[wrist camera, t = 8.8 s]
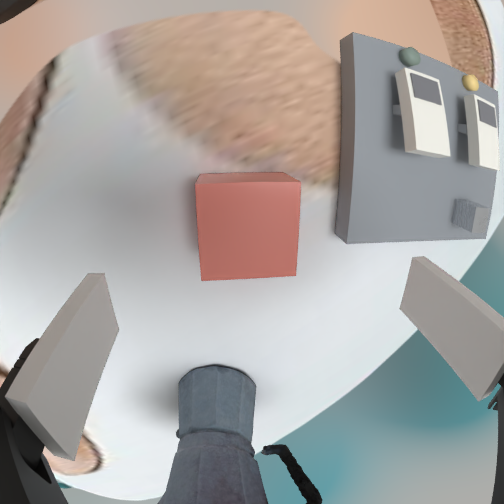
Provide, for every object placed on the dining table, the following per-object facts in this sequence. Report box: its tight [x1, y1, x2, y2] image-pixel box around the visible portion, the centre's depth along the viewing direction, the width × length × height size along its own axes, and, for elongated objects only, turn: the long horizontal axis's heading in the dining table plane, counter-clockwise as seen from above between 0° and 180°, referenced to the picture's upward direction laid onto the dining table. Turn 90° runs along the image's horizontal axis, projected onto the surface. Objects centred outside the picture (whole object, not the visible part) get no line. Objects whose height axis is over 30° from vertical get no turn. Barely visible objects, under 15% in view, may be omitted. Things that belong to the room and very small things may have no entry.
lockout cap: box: [195, 172, 301, 281], centre depth 20 cm, size 6×6×5 cm
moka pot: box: [158, 366, 322, 504], centre depth 21 cm, size 10×15×20 cm, turn 104°
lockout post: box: [451, 199, 490, 233], centre depth 21 cm, size 2×2×3 cm
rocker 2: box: [464, 94, 500, 171], centre depth 17 cm, size 6×4×2 cm, turn 0°
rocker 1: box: [395, 67, 450, 158], centre depth 16 cm, size 6×4×2 cm, turn 0°
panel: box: [335, 32, 499, 244], centre depth 20 cm, size 17×19×4 cm
